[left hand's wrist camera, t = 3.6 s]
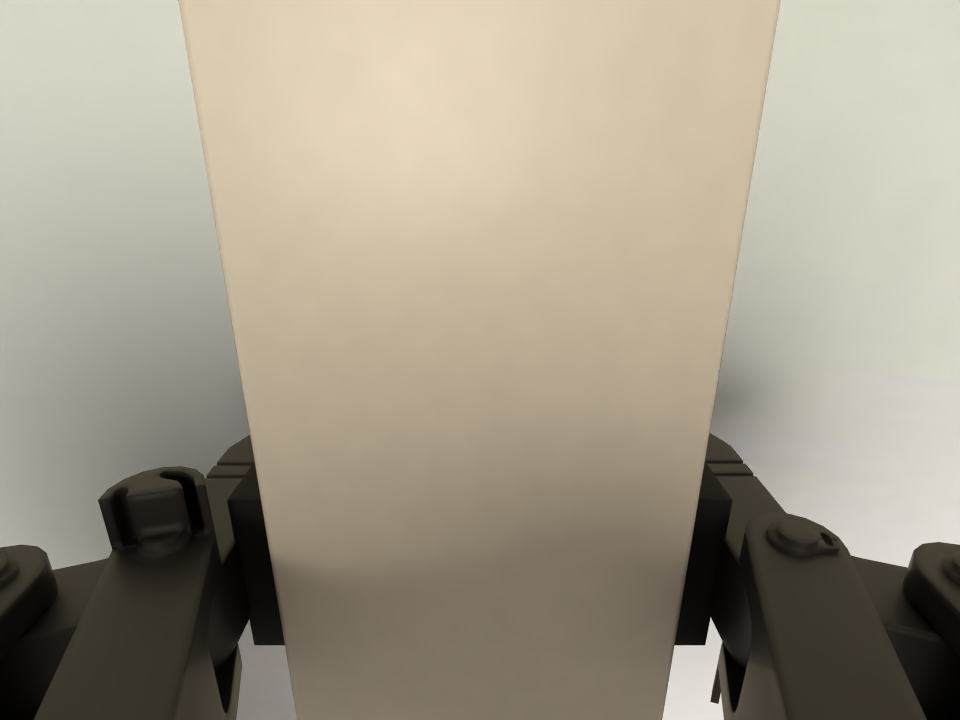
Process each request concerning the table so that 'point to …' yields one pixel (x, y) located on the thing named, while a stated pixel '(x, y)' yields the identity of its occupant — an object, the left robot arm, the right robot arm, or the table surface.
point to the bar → (479, 330)
